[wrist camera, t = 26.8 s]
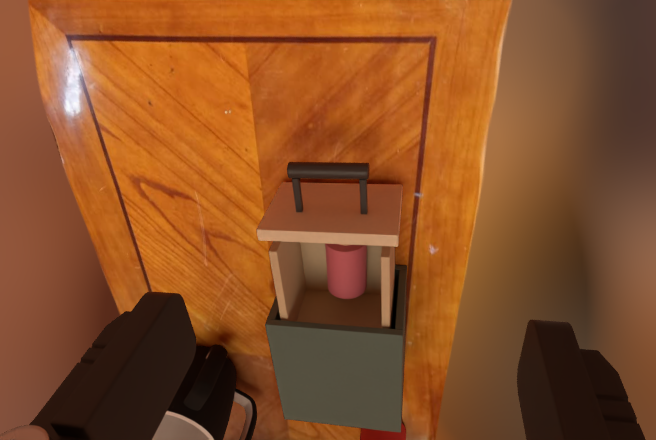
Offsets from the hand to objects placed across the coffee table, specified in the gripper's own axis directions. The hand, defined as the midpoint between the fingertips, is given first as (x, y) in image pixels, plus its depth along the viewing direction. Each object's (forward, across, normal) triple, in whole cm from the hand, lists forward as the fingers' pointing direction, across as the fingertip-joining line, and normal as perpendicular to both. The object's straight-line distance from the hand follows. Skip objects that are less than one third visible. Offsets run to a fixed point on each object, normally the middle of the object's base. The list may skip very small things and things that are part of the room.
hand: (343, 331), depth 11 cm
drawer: (+33, +6, +19) cm, 39 cm away
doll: (+30, +6, +25) cm, 39 cm away
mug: (+34, +28, +46) cm, 64 cm away
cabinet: (+34, +6, +33) cm, 48 cm away
